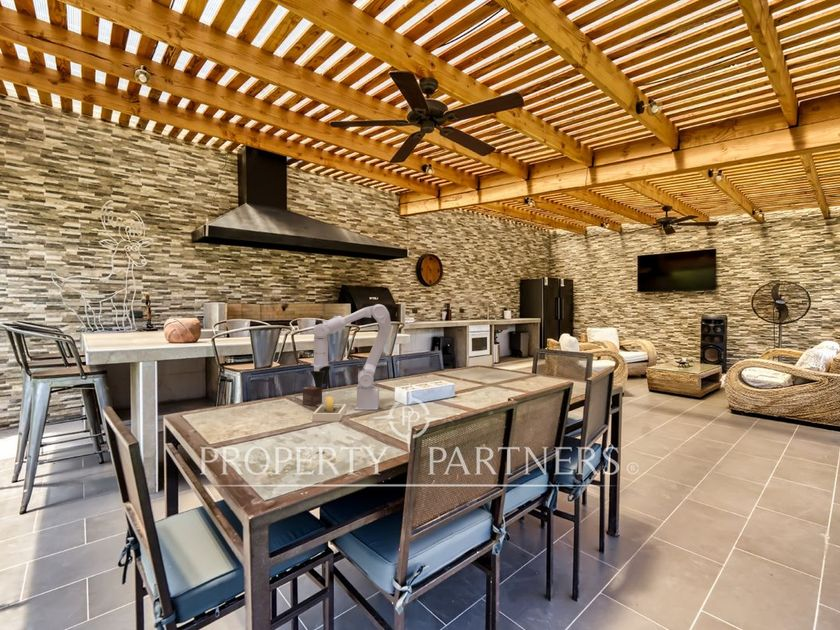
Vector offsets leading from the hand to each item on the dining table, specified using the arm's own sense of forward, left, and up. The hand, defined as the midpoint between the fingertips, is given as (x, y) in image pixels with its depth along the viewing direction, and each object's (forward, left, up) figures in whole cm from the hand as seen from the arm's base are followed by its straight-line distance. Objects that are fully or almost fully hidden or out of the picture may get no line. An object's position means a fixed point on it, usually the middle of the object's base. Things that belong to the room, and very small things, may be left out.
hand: (321, 385), depth 167 cm
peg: (-6, +10, -9) cm, 15 cm away
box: (+6, -9, -10) cm, 15 cm away
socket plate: (-6, +10, -10) cm, 15 cm away
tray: (-6, +10, -10) cm, 15 cm away
